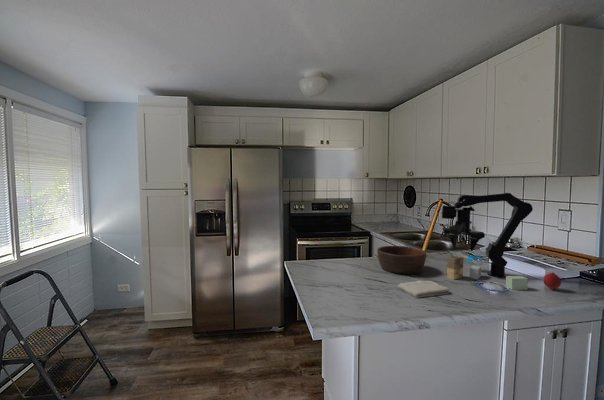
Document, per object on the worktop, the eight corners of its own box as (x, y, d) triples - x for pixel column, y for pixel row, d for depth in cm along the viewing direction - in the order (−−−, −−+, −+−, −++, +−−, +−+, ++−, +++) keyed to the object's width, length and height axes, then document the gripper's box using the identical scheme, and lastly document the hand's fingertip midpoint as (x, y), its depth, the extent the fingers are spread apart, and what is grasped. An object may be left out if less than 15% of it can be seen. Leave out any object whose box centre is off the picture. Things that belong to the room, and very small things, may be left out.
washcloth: (451, 294, 120) (451, 287, 120) (416, 299, 114) (416, 292, 114) (430, 285, 131) (430, 278, 131) (397, 289, 126) (397, 282, 125)
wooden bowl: (368, 269, 154) (369, 250, 154) (388, 260, 173) (388, 243, 173) (416, 279, 138) (416, 258, 138) (432, 268, 157) (432, 249, 157)
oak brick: (456, 275, 144) (456, 265, 144) (462, 277, 141) (463, 267, 141) (446, 277, 141) (447, 267, 141) (453, 279, 138) (453, 269, 138)
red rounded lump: (556, 288, 127) (557, 270, 127) (563, 292, 122) (564, 273, 121) (540, 286, 129) (541, 268, 129) (546, 291, 123) (547, 272, 123)
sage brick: (520, 287, 129) (521, 276, 128) (527, 289, 125) (527, 278, 125) (505, 287, 128) (506, 276, 128) (511, 290, 125) (512, 278, 124)
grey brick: (472, 274, 146) (473, 265, 146) (480, 276, 144) (481, 266, 144) (469, 278, 141) (469, 267, 141) (477, 279, 139) (478, 269, 138)
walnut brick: (456, 265, 144) (456, 255, 144) (463, 267, 141) (463, 257, 141) (447, 267, 141) (447, 257, 141) (454, 269, 138) (454, 259, 137)
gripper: (437, 218, 154) (436, 247, 154) (472, 222, 137) (471, 254, 138) (450, 217, 159) (449, 245, 160) (485, 220, 142) (484, 252, 143)
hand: (462, 249), depth 150 cm, fingers open, 9 cm apart
